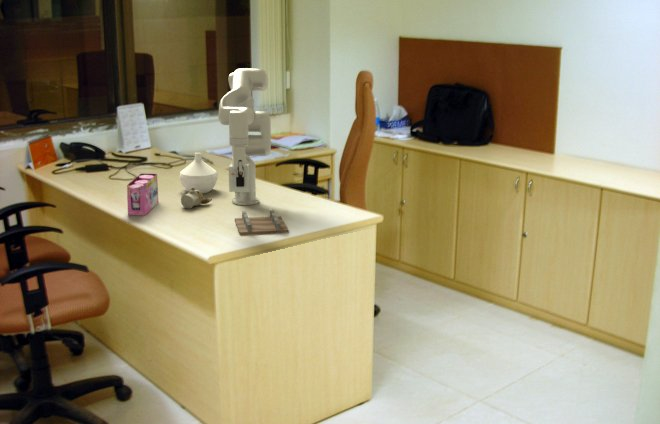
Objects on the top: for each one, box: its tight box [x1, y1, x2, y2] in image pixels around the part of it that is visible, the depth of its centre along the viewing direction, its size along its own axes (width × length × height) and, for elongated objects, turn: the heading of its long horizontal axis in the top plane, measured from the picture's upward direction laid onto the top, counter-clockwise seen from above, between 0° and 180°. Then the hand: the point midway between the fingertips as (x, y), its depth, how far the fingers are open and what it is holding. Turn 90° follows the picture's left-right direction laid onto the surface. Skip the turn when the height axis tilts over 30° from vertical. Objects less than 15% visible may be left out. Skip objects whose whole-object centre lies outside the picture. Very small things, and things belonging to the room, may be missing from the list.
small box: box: [228, 163, 250, 193], centre depth 317 cm, size 8×6×10 cm
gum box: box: [126, 173, 159, 216], centre depth 347 cm, size 24×8×14 cm, turn 177°
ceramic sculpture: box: [180, 188, 213, 209], centre depth 354 cm, size 11×9×15 cm
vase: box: [179, 151, 219, 195], centre depth 376 cm, size 18×18×19 cm
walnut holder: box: [234, 209, 289, 236], centre depth 325 cm, size 20×20×4 cm
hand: (239, 183), depth 317 cm, fingers closed on small box, 6 cm apart
